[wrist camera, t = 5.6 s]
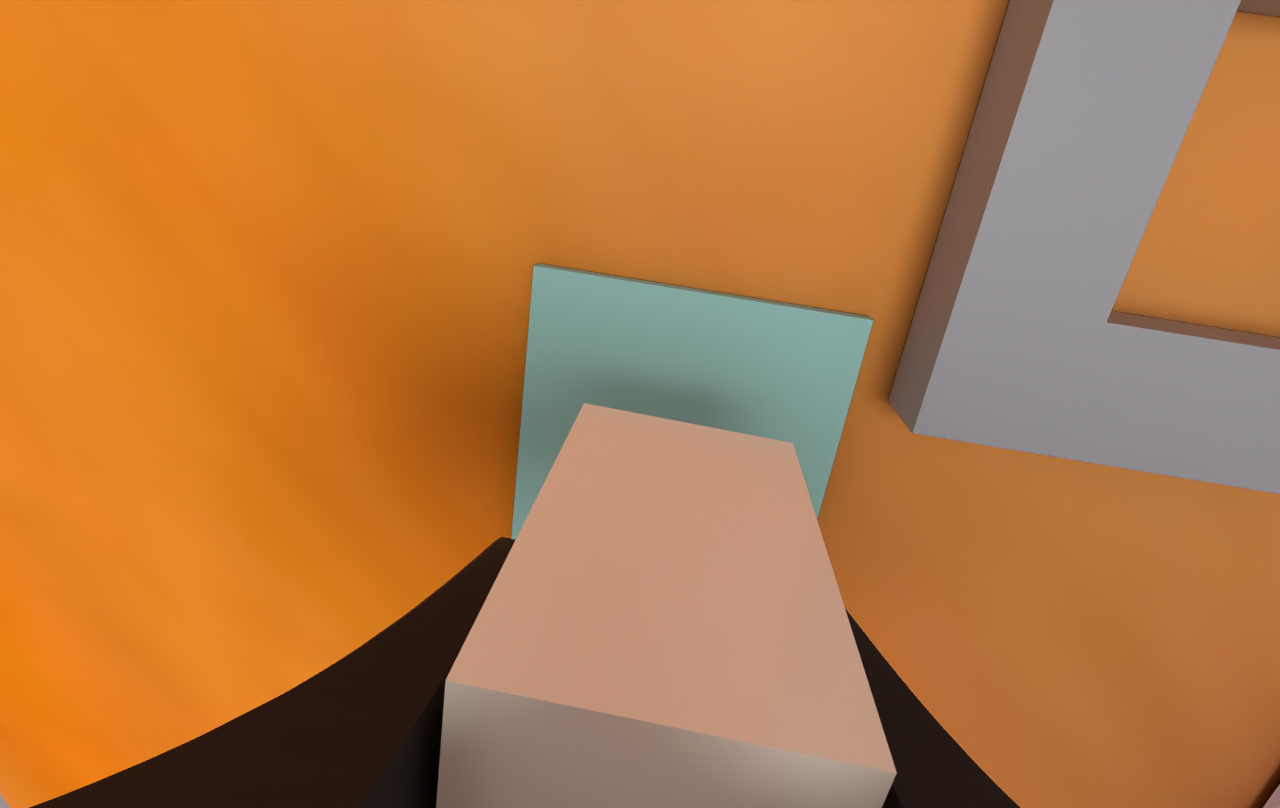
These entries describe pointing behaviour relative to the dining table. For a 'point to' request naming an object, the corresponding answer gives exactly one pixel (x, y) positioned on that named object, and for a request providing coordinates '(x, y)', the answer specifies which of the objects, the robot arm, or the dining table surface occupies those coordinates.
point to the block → (664, 638)
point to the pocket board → (1084, 258)
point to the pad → (683, 367)
